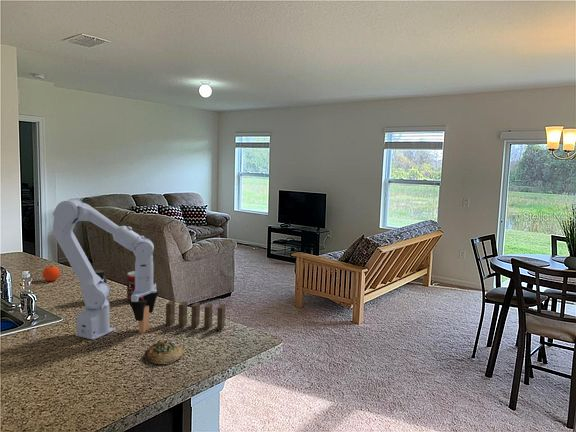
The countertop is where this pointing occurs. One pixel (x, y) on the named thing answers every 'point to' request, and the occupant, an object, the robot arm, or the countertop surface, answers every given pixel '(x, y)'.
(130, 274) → the canned food
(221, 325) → the domino
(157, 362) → the bread roll
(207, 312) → the domino
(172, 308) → the domino
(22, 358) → the countertop surface
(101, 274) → the supplement bottle
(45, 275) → the clementine
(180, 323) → the domino
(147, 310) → the domino
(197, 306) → the domino
